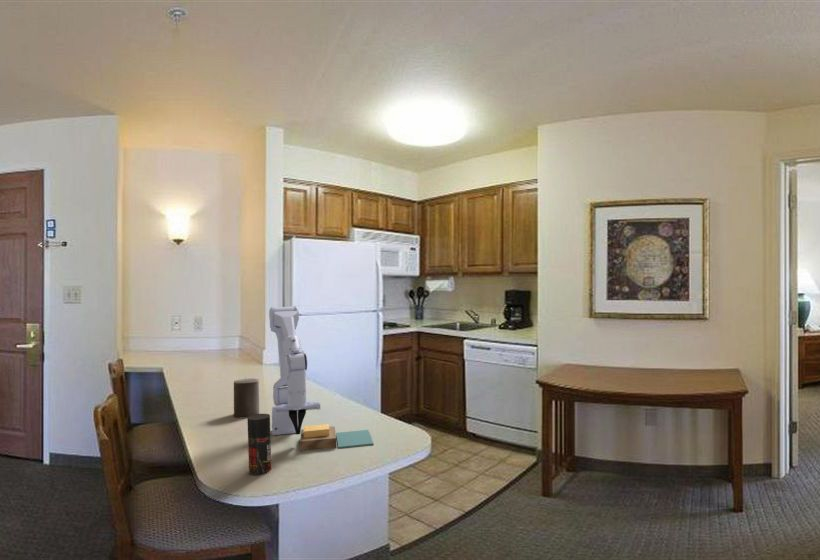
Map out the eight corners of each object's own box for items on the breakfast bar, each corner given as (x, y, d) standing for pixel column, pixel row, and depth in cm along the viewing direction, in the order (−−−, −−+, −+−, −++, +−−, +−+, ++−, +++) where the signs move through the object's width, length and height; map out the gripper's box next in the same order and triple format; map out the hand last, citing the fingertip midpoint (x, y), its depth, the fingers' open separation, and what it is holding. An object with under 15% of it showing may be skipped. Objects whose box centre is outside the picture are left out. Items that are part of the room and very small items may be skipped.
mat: (338, 448, 142) (338, 446, 142) (336, 434, 155) (336, 432, 155) (373, 444, 144) (373, 443, 144) (368, 431, 158) (368, 429, 158)
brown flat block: (300, 451, 140) (300, 441, 140) (301, 438, 152) (301, 429, 152) (336, 447, 143) (336, 438, 143) (334, 435, 154) (334, 426, 154)
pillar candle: (239, 419, 177) (238, 380, 177) (230, 414, 184) (229, 377, 184) (263, 414, 183) (263, 377, 183) (253, 409, 191) (253, 373, 191)
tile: (303, 437, 144) (303, 431, 144) (304, 432, 149) (304, 426, 149) (329, 435, 145) (329, 429, 145) (328, 430, 151) (328, 423, 151)
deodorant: (252, 467, 129) (250, 414, 129) (273, 465, 130) (271, 413, 130) (246, 475, 123) (244, 420, 123) (268, 474, 124) (267, 419, 124)
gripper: (272, 395, 141) (273, 439, 141) (319, 392, 144) (321, 435, 144) (274, 390, 148) (275, 432, 148) (319, 387, 151) (321, 428, 151)
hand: (298, 433), depth 146 cm, fingers closed
